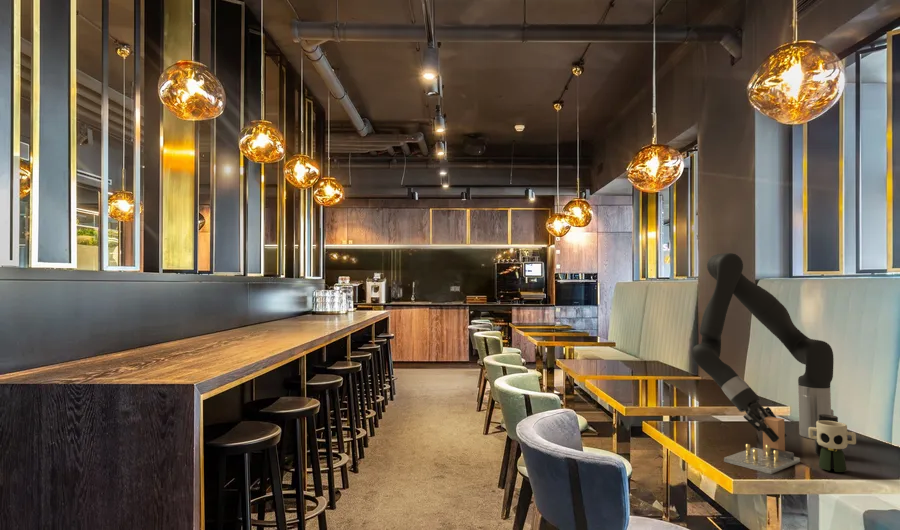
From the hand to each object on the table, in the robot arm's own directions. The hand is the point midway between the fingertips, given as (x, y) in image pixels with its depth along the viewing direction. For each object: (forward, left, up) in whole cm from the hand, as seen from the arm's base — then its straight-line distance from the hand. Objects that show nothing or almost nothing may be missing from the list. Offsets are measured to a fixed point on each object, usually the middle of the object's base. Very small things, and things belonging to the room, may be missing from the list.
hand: (780, 438), depth 169 cm
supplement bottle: (-12, +5, -4) cm, 14 cm away
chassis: (+13, +7, -4) cm, 15 cm away
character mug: (-1, +17, -4) cm, 18 cm away
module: (+1, -2, -4) cm, 5 cm away
